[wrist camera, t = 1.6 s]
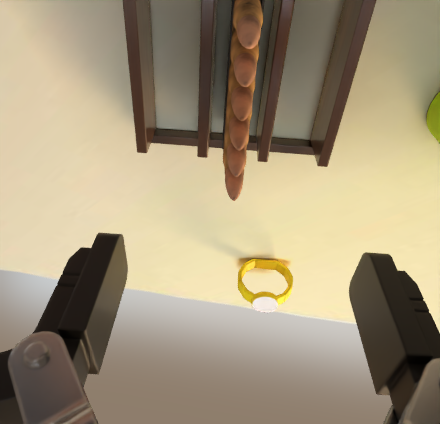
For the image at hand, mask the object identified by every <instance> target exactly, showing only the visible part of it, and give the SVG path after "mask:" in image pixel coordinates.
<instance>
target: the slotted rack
mask: <svg viewBox="0 0 440 424" xmlns="http://www.w3.org/2000/svg"><path fill="white" fill-rule="evenodd" d="M294 2H295V0H275V2H274V9H273V16H272V24H271V31H270V38H269V45H268V53H267V60H266V67H265V74H264V82H263V89H262V96H261V103H260V110H259V118H258V125H257V132H256V136H249V141H248V144H247V150H253V151H257V159H258V161H260V162H267V161H268V156H269V152H280V153H293V154H306V155H315V158H316V162H317V165H318V166H324V167H327V166H328V163H329V159H330V156H331V152H332V149H333V146H334V142H335V139H336V136H337V132H338V129H339V125H340V122H341V119H342V115H343V112H344V108H345V105H346V102H347V98H348V95H349V91H350V88H351V85H352V81H353V78H354V75H355V71H356V68H357V64H358V61H359V58H360V54H361V51H362V47H363V44H364V41H365V37H366V34H367V30H368V27H369V24H370V20H371V17H372V14H373V10H374V7H375V3H376V0H344V5H343V9H342V13H341V17H340V21H339V25H338V29H337V33H336V37H335V41H334V45H333V49H332V53H331V57H330V61H329V66H328V70H327V74H326V78H325V82H324V86H323V90H322V94H321V98H320V102H319V106H318V110H317V114H316V118H315V122H314V127H313V131H312V135H311V139H310V141H309V140H296V139H283V138H272V132H273V126H274V120H275V114H276V108H277V102H278V97H279V91H280V85H281V79H282V73H283V67H284V61H285V55H286V49H287V43H288V37H289V32H290V26H291V20H292V14H293V8H294ZM123 9H124V19H125V29H126V40H127V50H128V61H129V71H130V81H131V92H132V102H133V113H134V123H135V133H136V144H137V152H139V153H147V152H148V149H149V146H150V144H151V143H161V144H174V145H187V146H198V155H197V156H198V157H206V158H207V157H208V149H209V147H214V148H222V141H223V134H217V133H211V116H212V95H213V75H214V55H215V35H216V15H217V0H201V37H200V76H199V116H198V132H190V131H177V130H164V129H156V115H155V97H154V79H153V61H152V43H151V25H150V7H149V0H123Z"/></svg>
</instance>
